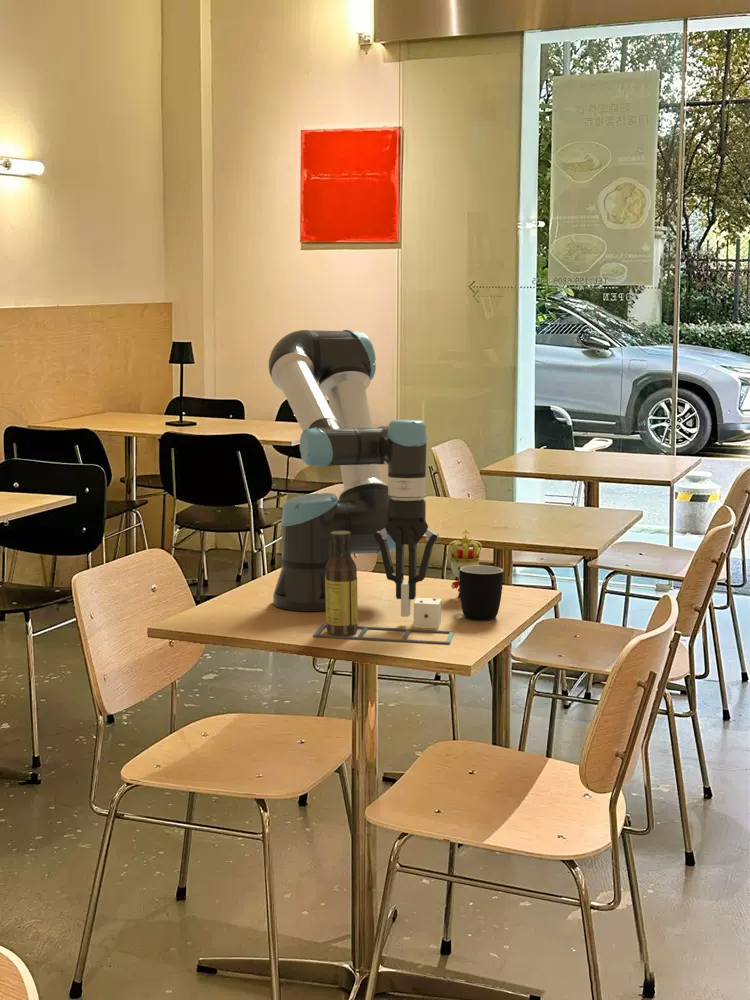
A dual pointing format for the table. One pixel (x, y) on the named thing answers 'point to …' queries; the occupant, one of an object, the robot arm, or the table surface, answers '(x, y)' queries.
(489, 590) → the mug
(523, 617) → the table surface
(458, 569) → the toy
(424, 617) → the die
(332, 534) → the sauce bottle
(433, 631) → the board
